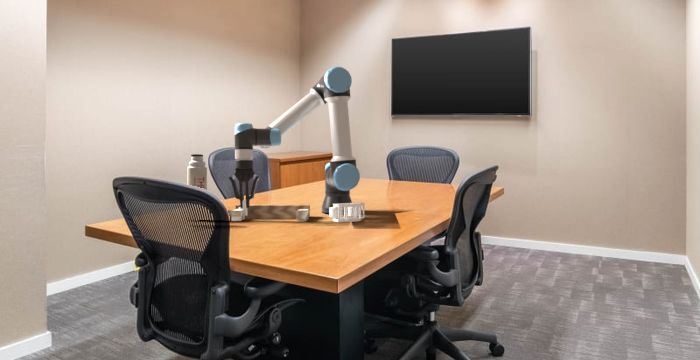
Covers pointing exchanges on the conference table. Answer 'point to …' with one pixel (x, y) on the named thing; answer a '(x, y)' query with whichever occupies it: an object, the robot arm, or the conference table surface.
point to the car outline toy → (346, 212)
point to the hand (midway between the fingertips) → (245, 215)
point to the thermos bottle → (197, 172)
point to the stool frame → (277, 212)
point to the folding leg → (237, 214)
